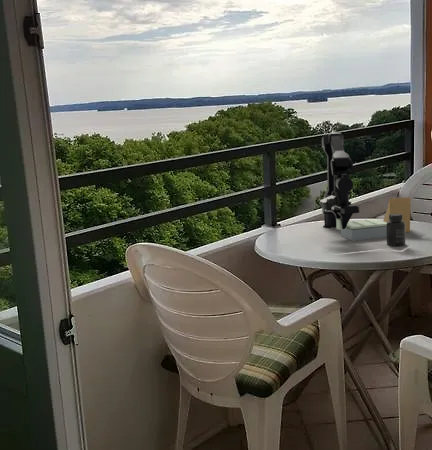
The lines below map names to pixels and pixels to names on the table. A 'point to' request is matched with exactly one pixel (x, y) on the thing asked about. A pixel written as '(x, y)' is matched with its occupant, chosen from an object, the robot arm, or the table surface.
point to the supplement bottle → (395, 231)
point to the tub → (364, 233)
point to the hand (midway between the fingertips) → (341, 228)
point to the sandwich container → (399, 210)
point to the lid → (360, 224)
